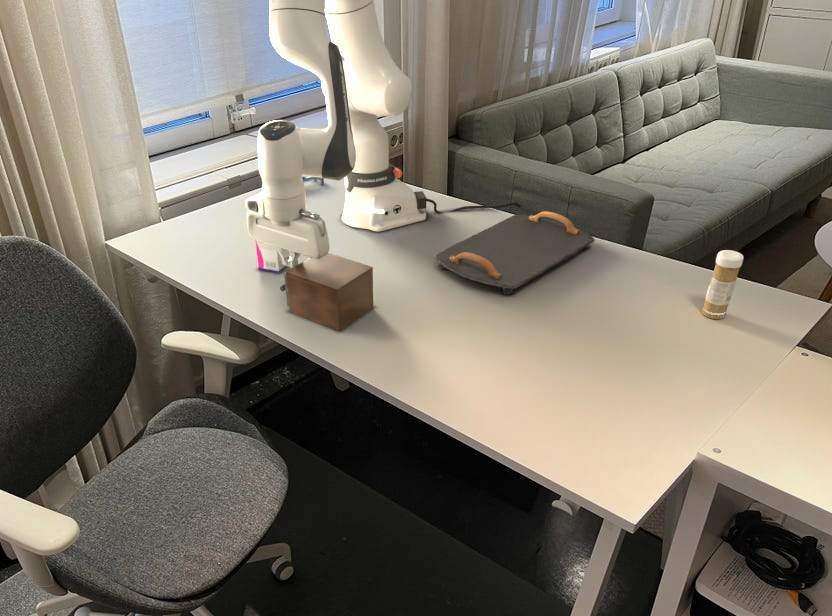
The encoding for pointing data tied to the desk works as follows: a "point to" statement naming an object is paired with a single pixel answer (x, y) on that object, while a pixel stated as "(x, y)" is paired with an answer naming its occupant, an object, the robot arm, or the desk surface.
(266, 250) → the supplement box
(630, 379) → the desk surface
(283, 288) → the drawer
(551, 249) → the serving tray
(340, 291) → the cabinet
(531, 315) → the desk surface
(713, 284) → the sprinkles bottle
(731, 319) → the desk surface
